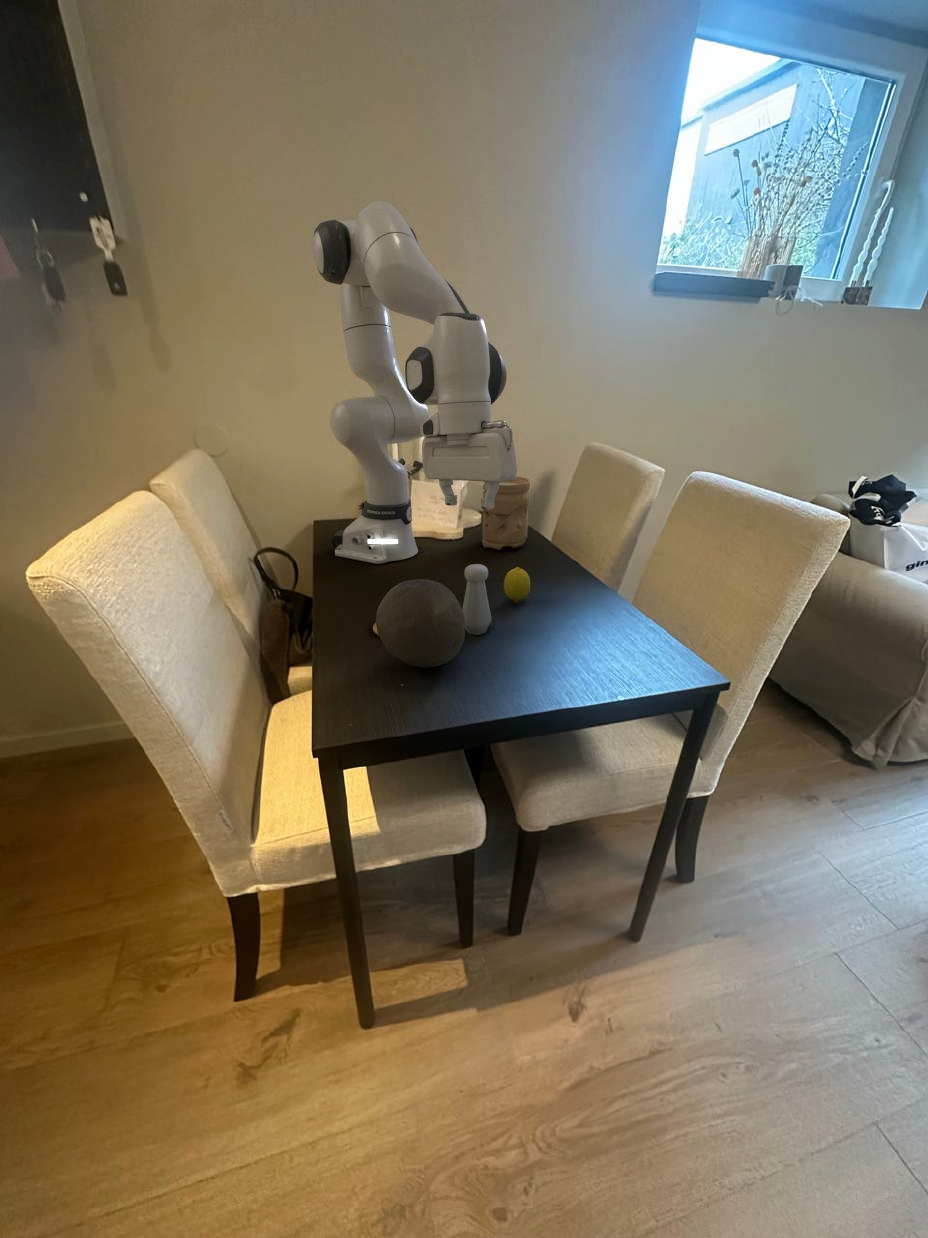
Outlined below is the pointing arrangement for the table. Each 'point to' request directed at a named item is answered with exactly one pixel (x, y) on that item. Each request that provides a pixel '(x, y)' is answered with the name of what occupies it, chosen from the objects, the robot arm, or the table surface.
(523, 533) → the container
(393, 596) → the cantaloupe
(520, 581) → the lemon
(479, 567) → the salt shaker
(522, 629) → the table surface
